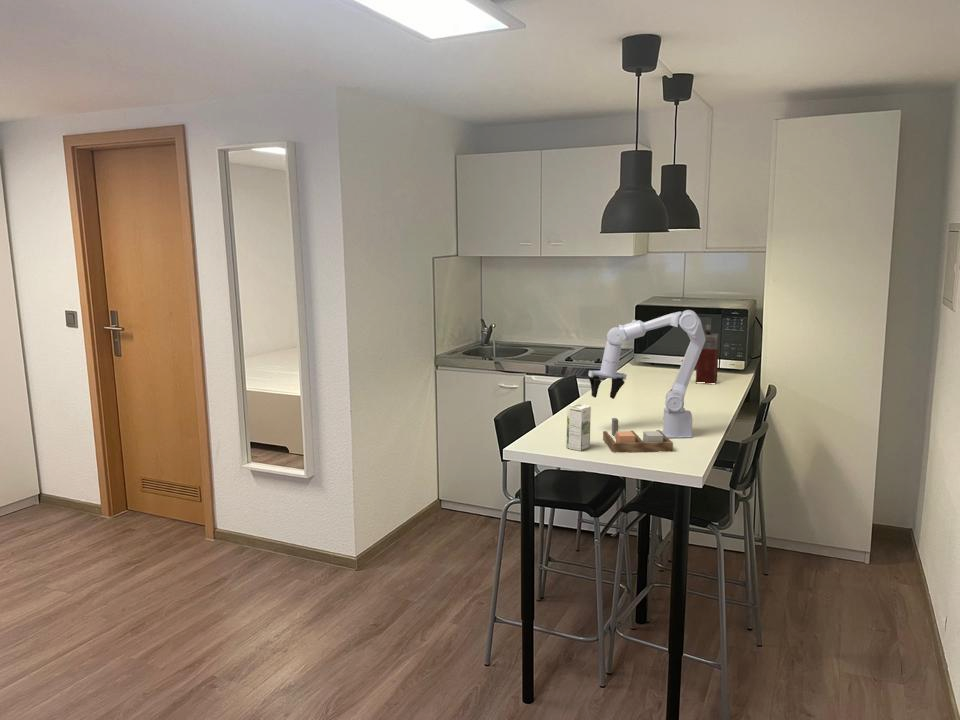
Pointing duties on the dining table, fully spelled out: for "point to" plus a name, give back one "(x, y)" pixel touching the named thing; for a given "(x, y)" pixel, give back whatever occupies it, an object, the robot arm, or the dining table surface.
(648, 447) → the wooden divided tray
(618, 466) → the dining table surface
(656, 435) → the grey block
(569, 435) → the syrup box
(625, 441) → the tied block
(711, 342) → the red liquid bottle
